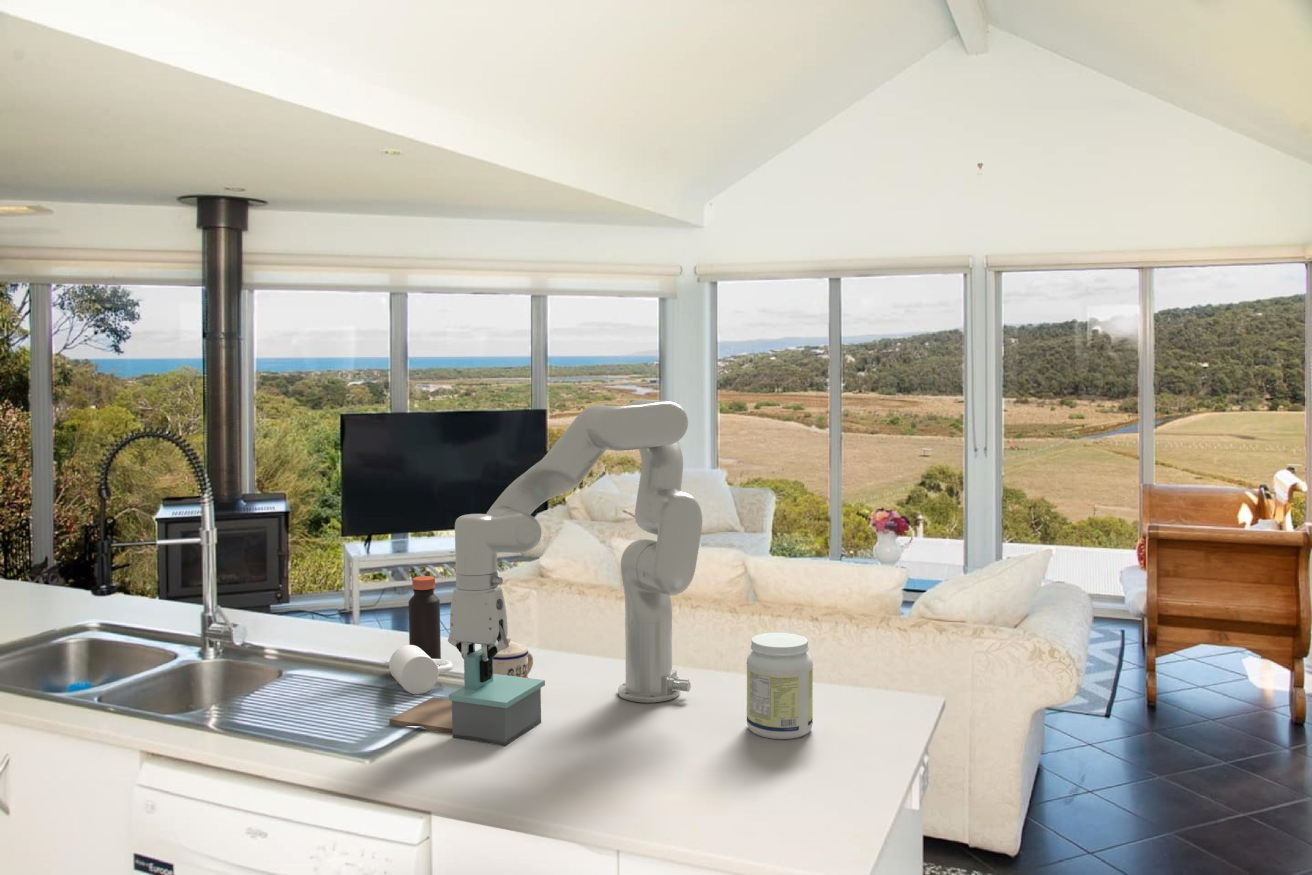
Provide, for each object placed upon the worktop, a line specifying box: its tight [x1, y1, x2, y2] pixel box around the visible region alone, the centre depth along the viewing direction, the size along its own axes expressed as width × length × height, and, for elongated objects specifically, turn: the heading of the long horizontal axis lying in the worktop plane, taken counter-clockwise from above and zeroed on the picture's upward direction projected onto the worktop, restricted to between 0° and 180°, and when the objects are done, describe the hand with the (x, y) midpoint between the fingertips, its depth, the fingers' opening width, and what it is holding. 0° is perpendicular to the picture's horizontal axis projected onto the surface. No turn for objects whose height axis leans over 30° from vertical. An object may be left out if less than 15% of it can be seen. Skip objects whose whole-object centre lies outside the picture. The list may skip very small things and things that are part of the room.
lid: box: [448, 648, 546, 708], centre depth 193 cm, size 12×14×8 cm
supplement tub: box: [746, 632, 814, 740], centre depth 193 cm, size 12×12×17 cm
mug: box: [388, 644, 454, 695], centre depth 220 cm, size 12×10×8 cm
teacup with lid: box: [493, 635, 534, 678], centre depth 217 cm, size 12×9×12 cm
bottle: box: [408, 575, 442, 659], centre depth 234 cm, size 7×7×20 cm
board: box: [389, 696, 453, 735], centre depth 201 cm, size 14×14×1 cm
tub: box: [451, 687, 542, 747], centre depth 194 cm, size 11×13×7 cm
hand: (478, 678), depth 195 cm, fingers closed on lid
